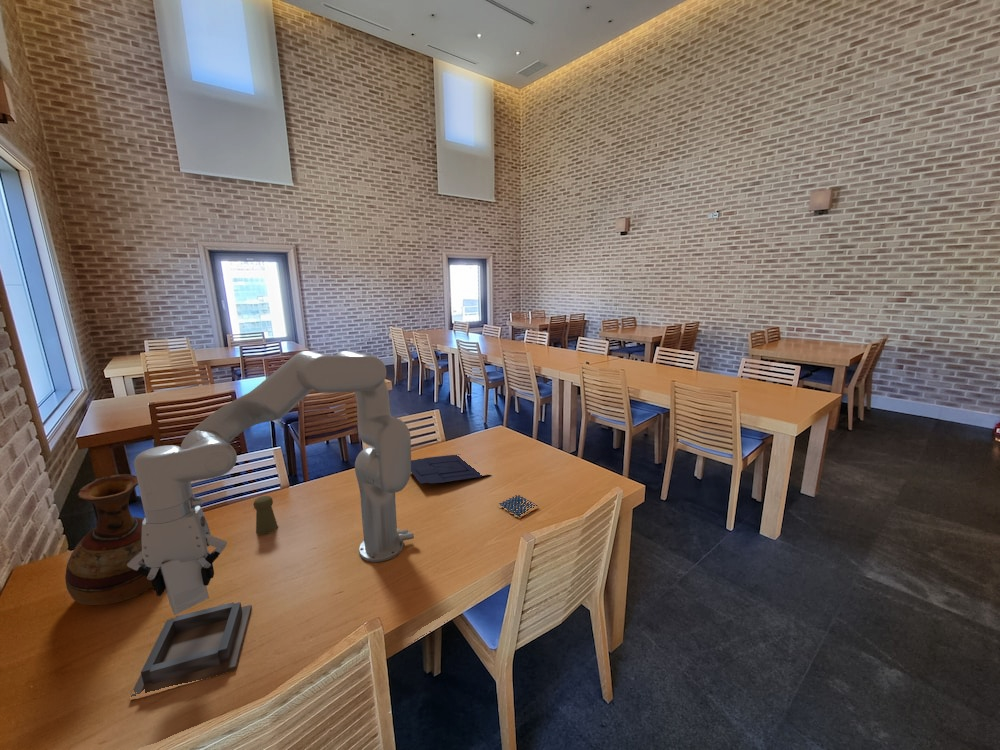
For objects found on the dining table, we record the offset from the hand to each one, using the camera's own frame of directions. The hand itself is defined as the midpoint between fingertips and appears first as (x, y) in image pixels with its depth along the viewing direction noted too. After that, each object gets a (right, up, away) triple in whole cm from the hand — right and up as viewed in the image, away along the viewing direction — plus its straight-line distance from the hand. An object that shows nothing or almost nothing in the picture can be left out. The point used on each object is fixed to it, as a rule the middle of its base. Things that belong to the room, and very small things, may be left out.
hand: (185, 585), depth 82 cm
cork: (-10, -6, +45) cm, 46 cm away
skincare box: (0, -4, +1) cm, 4 cm away
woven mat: (+71, -4, +58) cm, 92 cm away
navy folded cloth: (+43, +2, +84) cm, 94 cm away
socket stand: (0, -16, +4) cm, 16 cm away
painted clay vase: (-32, -11, +21) cm, 40 cm away
